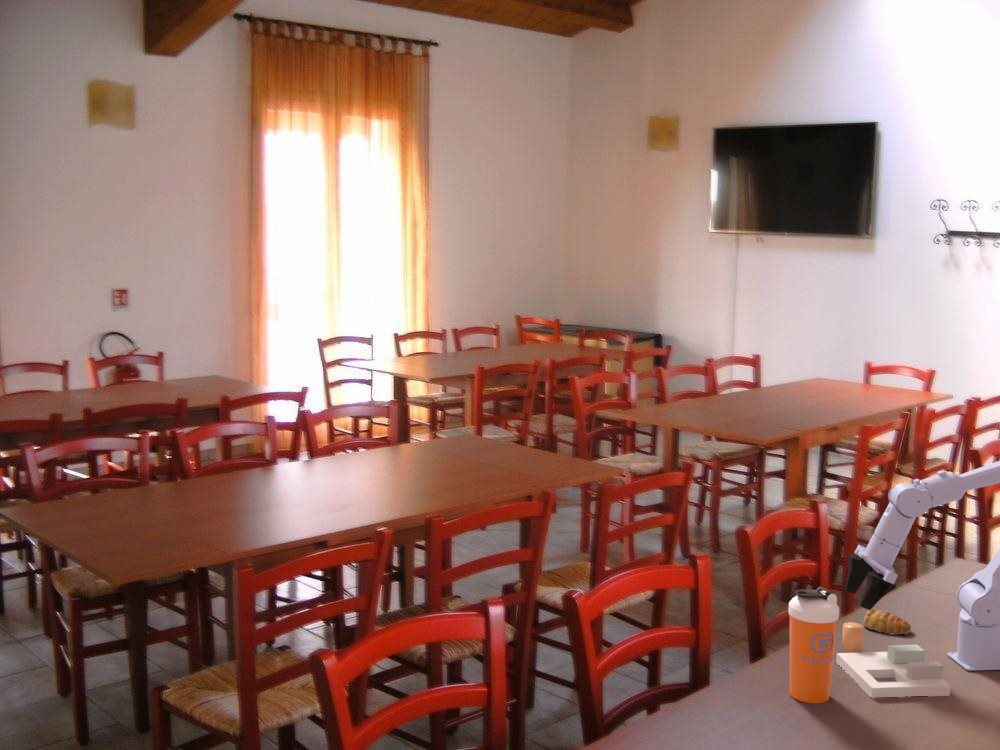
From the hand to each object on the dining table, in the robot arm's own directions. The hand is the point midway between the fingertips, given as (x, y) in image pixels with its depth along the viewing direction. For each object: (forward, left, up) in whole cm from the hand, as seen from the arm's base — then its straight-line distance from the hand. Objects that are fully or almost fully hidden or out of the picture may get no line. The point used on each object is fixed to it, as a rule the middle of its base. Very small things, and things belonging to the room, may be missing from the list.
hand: (857, 599), depth 207 cm
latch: (-7, +7, -10) cm, 14 cm away
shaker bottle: (+16, +17, -12) cm, 26 cm away
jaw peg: (0, -1, -12) cm, 12 cm away
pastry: (-13, -15, -13) cm, 23 cm away
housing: (-3, +11, -12) cm, 16 cm away
